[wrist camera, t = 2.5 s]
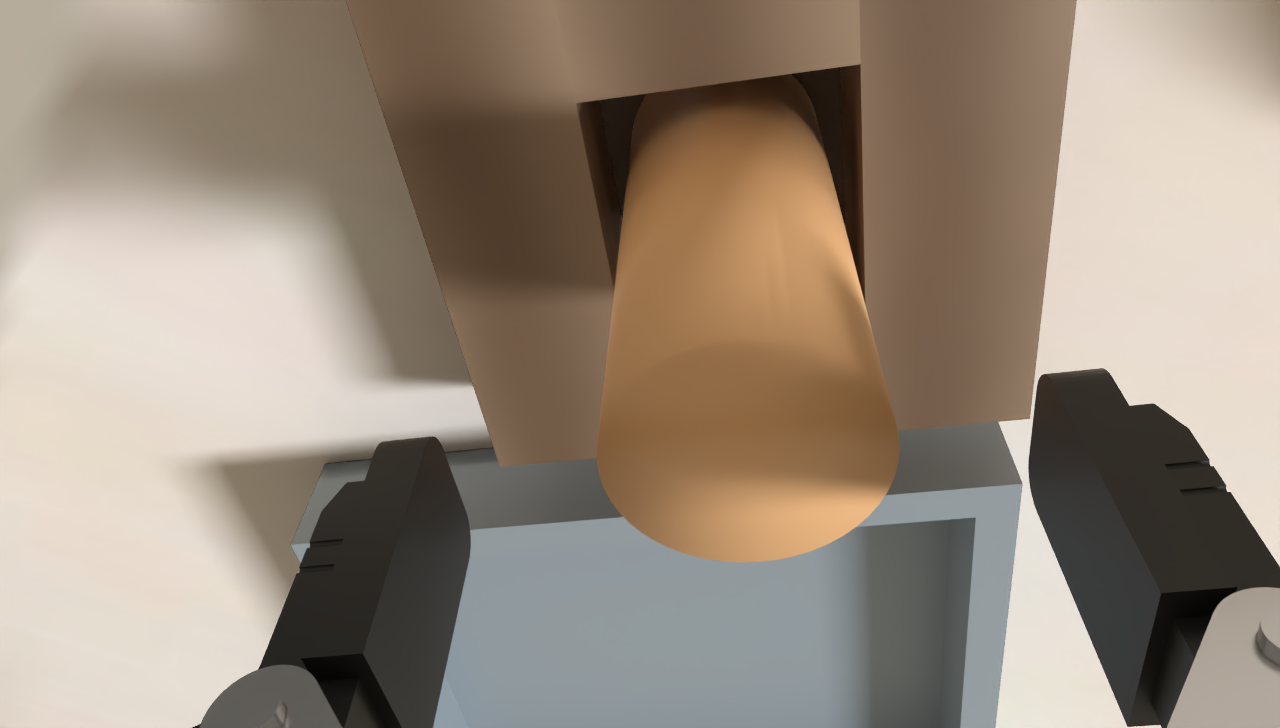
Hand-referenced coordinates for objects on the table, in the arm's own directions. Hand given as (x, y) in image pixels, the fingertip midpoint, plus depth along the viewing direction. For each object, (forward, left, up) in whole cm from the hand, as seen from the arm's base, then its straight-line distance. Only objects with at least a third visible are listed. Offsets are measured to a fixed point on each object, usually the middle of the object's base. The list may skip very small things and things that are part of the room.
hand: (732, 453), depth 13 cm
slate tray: (+3, +16, -10) cm, 19 cm away
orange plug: (0, 0, -10) cm, 10 cm away
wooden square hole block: (0, 0, -10) cm, 10 cm away
